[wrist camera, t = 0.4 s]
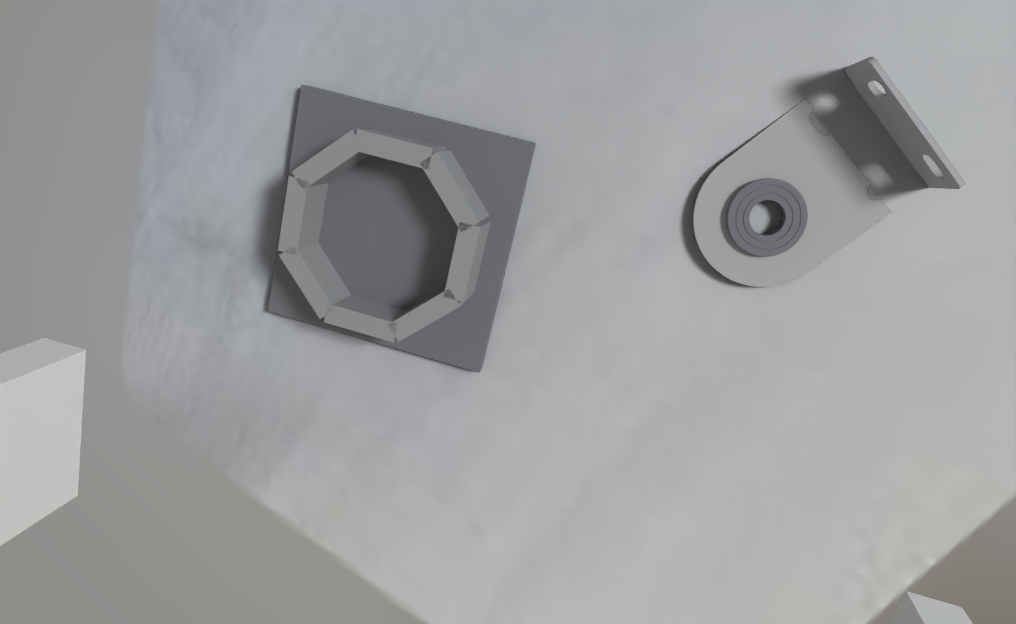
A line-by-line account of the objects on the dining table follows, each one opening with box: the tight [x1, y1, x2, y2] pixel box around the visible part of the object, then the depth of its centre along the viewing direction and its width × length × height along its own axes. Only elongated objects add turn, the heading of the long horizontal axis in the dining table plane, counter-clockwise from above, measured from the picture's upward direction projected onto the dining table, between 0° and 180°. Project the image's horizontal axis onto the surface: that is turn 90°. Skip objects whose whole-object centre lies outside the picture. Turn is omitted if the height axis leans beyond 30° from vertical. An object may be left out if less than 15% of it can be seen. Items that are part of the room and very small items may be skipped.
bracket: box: [693, 57, 965, 287], centre depth 32 cm, size 7×10×4 cm, turn 129°
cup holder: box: [268, 85, 536, 373], centre depth 36 cm, size 12×12×3 cm
